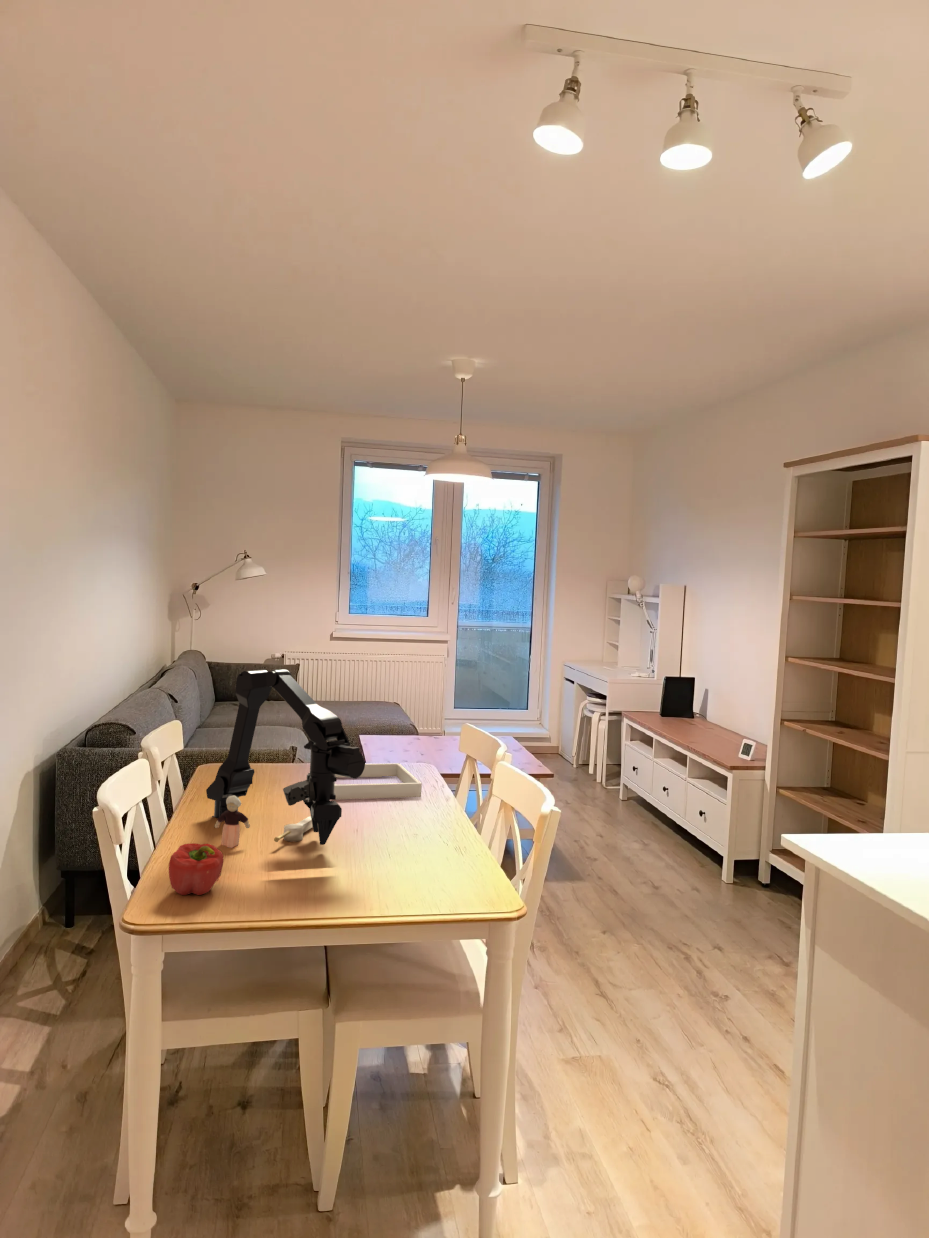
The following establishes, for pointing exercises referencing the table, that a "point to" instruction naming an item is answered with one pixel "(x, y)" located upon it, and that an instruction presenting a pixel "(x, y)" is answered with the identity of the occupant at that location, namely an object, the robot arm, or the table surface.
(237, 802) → the grandmother figurine
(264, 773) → the table surface
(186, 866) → the vegetable
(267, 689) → the robot arm
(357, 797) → the tray
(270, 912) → the table surface
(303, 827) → the beige dial pointer lever
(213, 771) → the table surface
